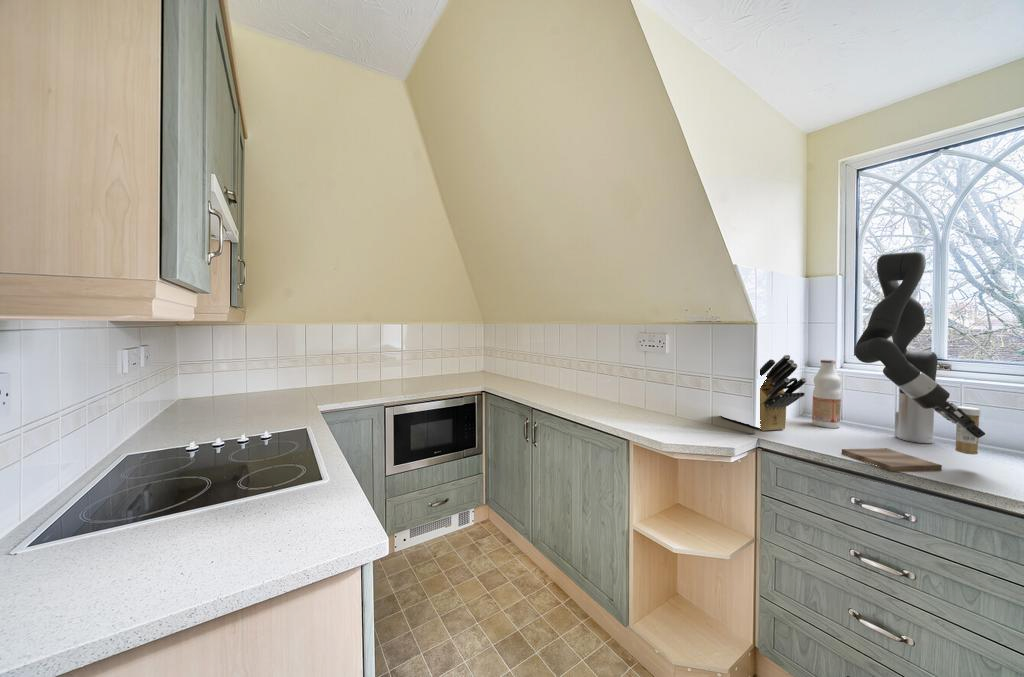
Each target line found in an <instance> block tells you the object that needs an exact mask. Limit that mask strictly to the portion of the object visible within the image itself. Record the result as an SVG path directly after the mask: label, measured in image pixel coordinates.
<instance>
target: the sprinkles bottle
mask: <svg viewBox="0 0 1024 677" xmlns="http://www.w3.org/2000/svg"><path fill="white" fill-rule="evenodd" d="M957 408H959V409H961V410H962V411H963V412H964V413H965V414H966V415H967V416H968V417H970V418H971V419H972V420H973V421H975V425H976V426H977V427H978V428H980V427H979V425H980V416H981V410H980V408H978V407H971V406H962V405H961V406H960V405H959V406H957ZM966 422H967V420H965V421H964V422H963V423H966ZM956 424H957V425H956V427H955V428H956V429H955V430H956V431H955V447H954V450H955V451H956V452H958V453H961V454H965V455H974V456H975V455H978V454H979V451H978V449H979V448H978V446H979V444H978V443H979V439H980V438H977V437H975V436H974V435H973V434H971V433H970V432H969V431H968V430H966V429H965V428H963V427H962V426H961V425H960V424H958V423H956Z"/></svg>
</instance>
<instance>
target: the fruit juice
mask: <svg viewBox="0 0 1024 677" xmlns="http://www.w3.org/2000/svg"><path fill="white" fill-rule="evenodd" d="M835 364H836V360H834V359H820V367H819V369H818V372H817V373H816V375H815V376H814V377H813V383H814V388H813V390H812V411H811V412H812V414H811V423H812V425H814V426H817V427H821V428H829V429H837V428H838V429H839V428H840V427H841V411H842V407H841V406H842V392H841V389H840V387H841V385H842V379H841V377H840V375H839V373H838V372H837V369H836V367H835Z"/></svg>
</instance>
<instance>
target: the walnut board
mask: <svg viewBox="0 0 1024 677" xmlns="http://www.w3.org/2000/svg"><path fill="white" fill-rule="evenodd" d="M841 454H842V455H844V456H847V457H850V458H853V457H854V458H853V459H855V458H856V460H858V459H859V461H861V460H862V461H861V462H864V461H865V462H864V463H867V462H868V463H867V464H869V463H871V464H870V465H872V464H874V465H873V466H875V465H877V466H876V467H878V466H879V468H881V467H882V468H881V469H883V468H884V469H883V470H887V471H889V472H924V471H925V470H926V471H928V472H929V470H931V471H942V470H943V469H942V468H943V464H939V463H935V462H932V461H931V460H930V461H929V460H926V459H923V458H919V457H917V456H912V455H910V454H906V453H903V452H900V451H897V450H895V449H894V450H893V449H890V448H886V447H884V448H882V447H881V448H880V447H876V448H841ZM926 471H925V472H926Z"/></svg>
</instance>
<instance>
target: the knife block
mask: <svg viewBox="0 0 1024 677" xmlns="http://www.w3.org/2000/svg"><path fill="white" fill-rule="evenodd" d="M797 368H798V364H797V363H795V361H794V360H793V359H791V355H790V354H785V355H783V357H782V358H780V359H779V361H777V362H776V361H775V360H774V359H771V358H770V359H769V360H768V361H766V362H765V363H764V364H763V365H762V367H760V369H759V370H760V375H761V376H762V375H766V374H767V376H766V377H767V379H766V380H765V381H766V382H765V381H764V383H763V385H762V386H761V388H760V420H761V421H760V424H761V425H760V426H761V427H760V428H761V430H762V431H763V432H765V431H774V430H779V431H782V430H785V429H786V420H787V418H786V417H787V407H789V406H791V405H792V404H794V403H795V402H796V401H797V400H799V399H801V398H802V397H804V396H805V394H806V393H805V392H796V391H797V390H798V389H800V388H801V387H802V386H803V385H804V384H806V382H807V379H806V378H804V377H801V378H800V379H799V380H798V378H796V377H791V378H789V377H790V376H791V375H792V374H793V373H794V372H795V371H796V369H797ZM768 371H769V372H768ZM767 372H768V373H767ZM761 430H760V431H761ZM762 431H761V432H762Z"/></svg>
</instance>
